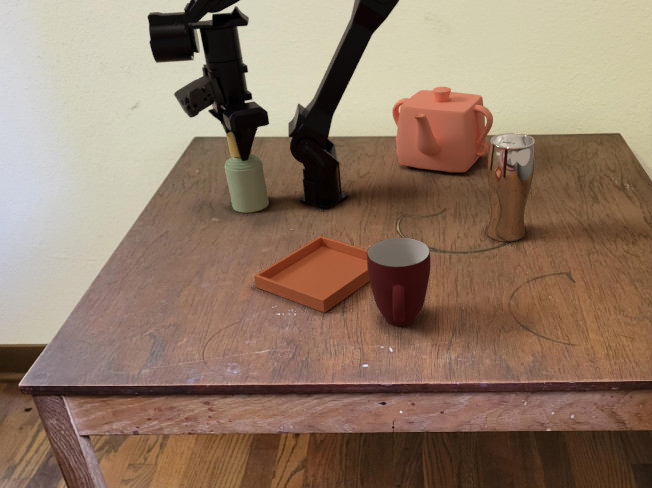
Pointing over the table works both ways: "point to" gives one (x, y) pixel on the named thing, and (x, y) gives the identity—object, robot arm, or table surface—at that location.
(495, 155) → the beer glass
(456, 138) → the teapot
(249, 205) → the bottle
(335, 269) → the tray
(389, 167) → the table surface
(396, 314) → the mug
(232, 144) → the bottle cap
